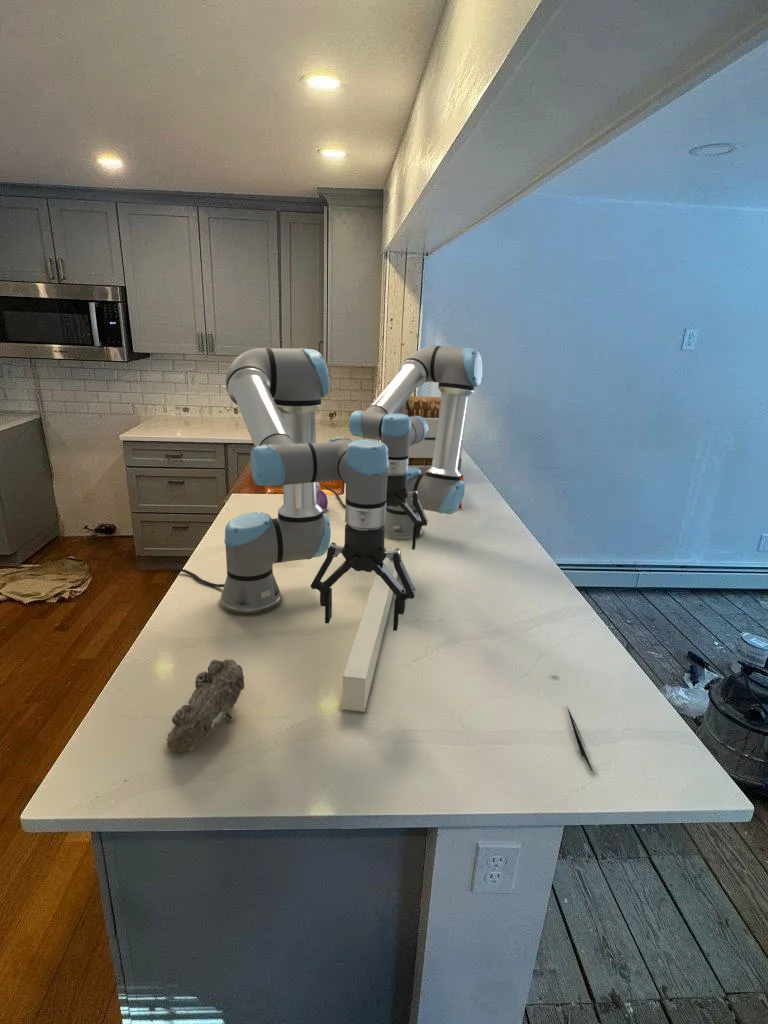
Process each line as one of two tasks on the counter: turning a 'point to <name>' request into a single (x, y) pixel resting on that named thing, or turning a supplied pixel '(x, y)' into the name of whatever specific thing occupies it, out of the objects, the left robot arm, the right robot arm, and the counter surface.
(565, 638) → the counter surface
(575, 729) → the feather
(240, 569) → the left robot arm
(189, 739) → the fossil
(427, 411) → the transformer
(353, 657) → the beam
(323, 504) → the figurine
